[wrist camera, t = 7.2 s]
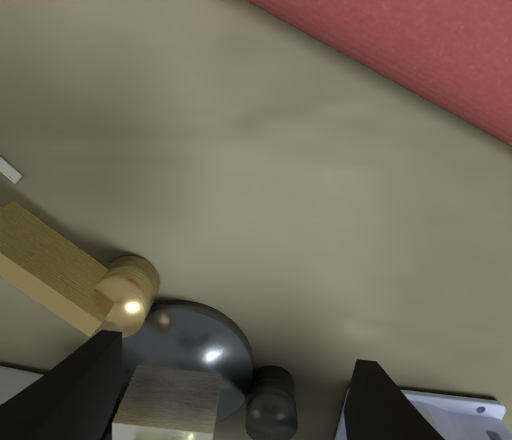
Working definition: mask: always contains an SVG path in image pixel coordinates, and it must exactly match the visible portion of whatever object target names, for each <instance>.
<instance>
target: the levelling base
mask: <svg viewBox="0 0 512 440" xmlns="http://www.w3.org/2000/svg"><path fill="white" fill-rule="evenodd" d="M0 172H1V173H3V174H4V175H5V176H6V177H7V178H8V179H10V180H11V181H12V182H13V183H14V184H16V183H17V182H18V181H19V180H20V179H21V177H22V176H23V175H22V174H21V173H19V172H18V171H17V170H16V169H15V168H14V167H13V166H11V165H10V164H9V163H8V162H7V161H6V160H5V159H3V158H2V157H1V156H0ZM246 398H247V406H246V425H245V426H246V431H247V433H248V434H249V436H250V437H251V438H252V439H253V440H290V439H291V438H292V437H293V436H294V435H295V433H296V431H297V428H298V423H297V412H296V401H295V391H294V381H293V378H292V376H291V375H290V374H289V373H288V372H287V371H286V370H284V369H282V368H280V367H276V366H265V367H261V368H259V369H257V370H255V371H254V372H253V355H252V351H251V347H250V344H249V342H248V340H247V338H246V336H245V335H244V333H243V332H242V331H241V329H240V328H239V327H238V326H237V325H236V324H235V323H234V322H233V321H232V320H231V319H230V318H228V317H227V316H226V315H224V314H223V313H221V312H219V311H217V310H216V309H213V308H211V307H209V306H206V305H203V304H199V303H195V302H189V301H178V300H177V301H165V302H159V303H155V304H152V306H151V308H150V310H149V312H148V314H147V316H146V318H145V320H144V322H143V324H142V326H141V328H140V329H139V330H138V331H137V332H136V333H134V334H133V335H131V336H128V337H125V338H122V386H121V389H120V392H119V395H118V399H119V400H120V401H121V403H119V404H118V405H117V406H116V407H115V409H114V411H113V413H112V415H111V418H110V420H109V422H108V424H107V427H106V429H105V431H104V433H103V435H102V438H101V440H213V439H214V432H215V425H216V423H218V422H220V421H222V420H224V419H226V418H227V417H229V416H230V415H232V414H233V413H234V412H235V411H237V410H238V409H239V408H240V406H241V405H242V404H243V403H244V401H245V400H246Z"/></svg>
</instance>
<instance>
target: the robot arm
mask: <svg viewBox="0 0 512 440" xmlns="http://www.w3.org/2000/svg"><path fill="white" fill-rule="evenodd" d="M121 386H122V332H118V331H110V330H101V331H100V332H98V333H97V334H96V335H94V336H93V337H92V338H91V339H89V340H88V341H87V342H86V343H84V344H83V345H82V346H81V347H79V348H78V349H77V350H76V351H74V352H73V353H72V354H71V355H69V356H68V357H67V358H66V359H64V360H63V361H62V362H60V363H59V364H58V365H56V366H55V367H54V368H53V369H51V370H50V371H49V372H47V373H46V374H45V375H43V376H42V377H41V378H39V379H38V380H36V381H35V382H33V383H32V384H31V385H29V386H28V387H26V388H25V389H23V390H22V391H21V392H19V393H18V394H16V395H15V396H13V397H12V398H10V399H9V400H7V401H6V402H4V403H2V404H1V405H0V440H100V438H101V436H102V434H103V432H104V430H105V428H106V426H107V424H108V421H109V419H110V417H111V414H112V412H113V409H114V406H115V403H116V400H117V398H118V395H119V392H120V389H121ZM478 407H479V408H478ZM505 410H506V409H505V407H504V405H503V404H502V403H501V402H500V401H495V400H487V399H478V398H469V397H460V396H452V395H443V394H434V393H426V392H417V391H408V390H400V389H399V388H398V387H397V385H396V384H395V383H394V382H393V381H392V379H391V378H390V377H389V376H388V375H387V373H386V372H385V371H384V370H383V369H382V367H381V366H380V365H379V364H378V363H377V362H376V361H367V360H359V359H357V360H356V364H355V368H354V372H353V376H352V379H351V383H350V387H349V388H348V390H347V394H346V398H345V402H344V406H343V410H342V413H341V417H340V421H339V425H338V429H337V432H336V436H335V440H512V434H511V433H510V431H509V430H508V428H507V427H506V426H505V424H504V423H503V421H502V418H503V415H504V413H505Z"/></svg>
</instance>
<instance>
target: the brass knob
mask: <svg viewBox="0 0 512 440" xmlns="http://www.w3.org/2000/svg"><path fill="white" fill-rule="evenodd" d="M0 277H1V278H2V279H4V280H5V281H7V282H8V283H10V284H11V285H13V286H14V287H16V288H17V289H19V290H20V291H22V292H23V293H25V294H26V295H28V296H29V297H31V298H32V299H33V300H35V301H36V302H38V303H39V304H41V305H42V306H44V307H45V308H47V309H48V310H50V311H51V312H53V313H54V314H56V315H57V316H59V317H60V318H62V319H63V320H65V321H66V322H68V323H69V324H71V325H72V326H74V327H75V328H77V329H78V330H79V331H81V332H82V333H84V334H85V335H87V336H88V337H90V336H91V335H92V334H93V333H94V332H97V333H98V332H100V331H101V330H110V331H118V332H122V338H125V337H128V336H131V335H133V334H134V333H136V332H137V331H138V330H139V329H140V328H141V326H142V324H143V322H144V320H145V318H146V316H147V314H148V312H149V310H150V308H151V306H152V304H153V302H154V300H155V298H156V295H157V293H158V291H159V288H160V278H159V275H158V272H157V271H156V269H155V268H154V267H153V266H152V264H150V263H149V262H148V261H146V260H144V259H142V258H140V257H136V256H123V257H119V258H117V259H115V260H114V261H112V262H111V263H110V264H109V266H108V267H107V268H106V267H104V266H103V265H102V264H100V263H99V262H97V261H96V260H95V259H93V258H92V257H91V256H89V255H88V254H86V253H85V252H84V251H82V250H81V249H80V248H78V247H77V246H75V245H74V244H73V243H71V242H70V241H69V240H67V239H66V238H64V237H63V236H62V235H60V234H59V233H58V232H56V231H55V230H53V229H52V228H51V227H49V226H48V225H47V224H45V223H44V222H42V221H41V220H40V219H38V218H37V217H36V216H34V215H33V214H31V213H30V212H29V211H27V210H26V209H25V208H23V207H22V206H20V205H19V204H18V203H16V202H15V201H13V202H11V203H9V204H7V205H5V206H3V207H1V208H0Z"/></svg>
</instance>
